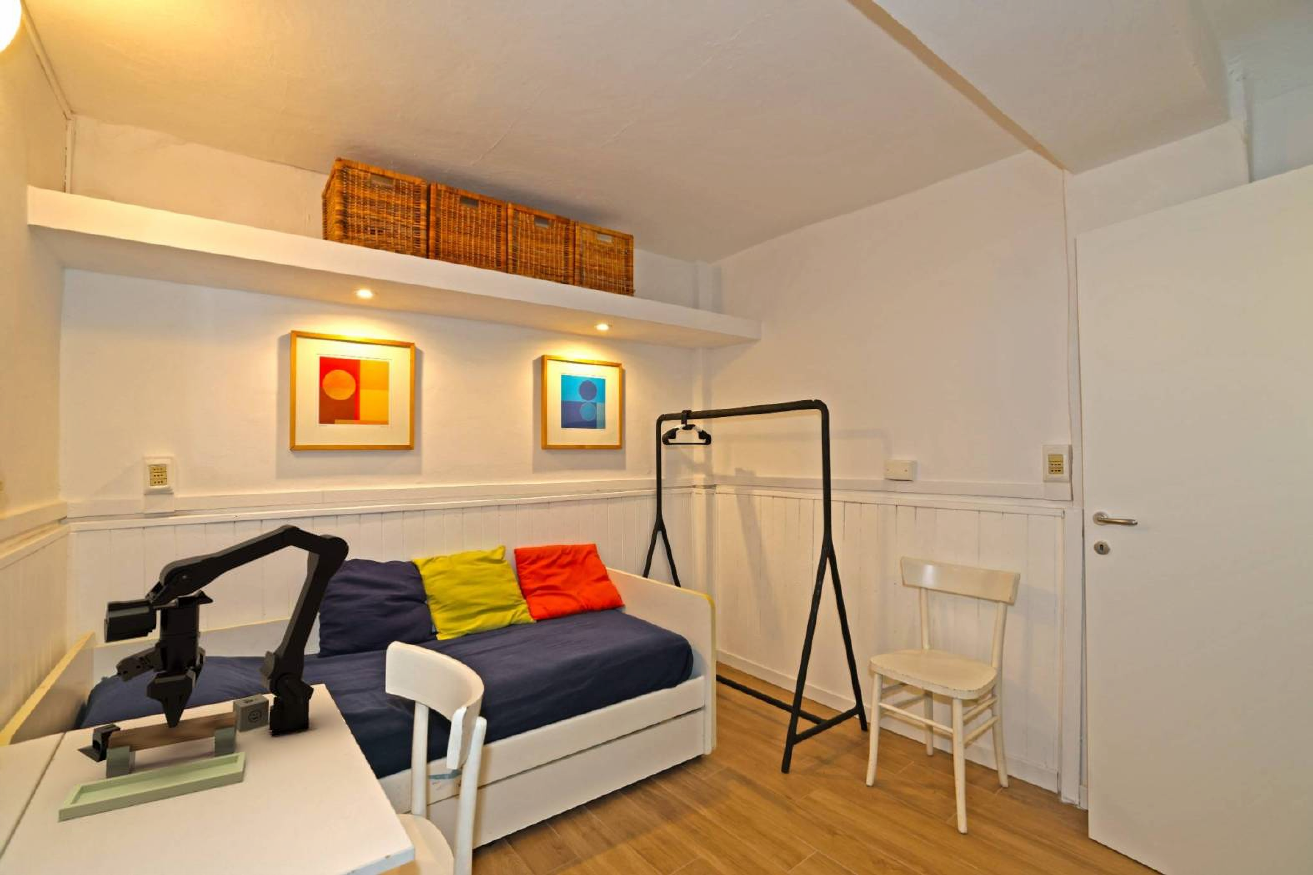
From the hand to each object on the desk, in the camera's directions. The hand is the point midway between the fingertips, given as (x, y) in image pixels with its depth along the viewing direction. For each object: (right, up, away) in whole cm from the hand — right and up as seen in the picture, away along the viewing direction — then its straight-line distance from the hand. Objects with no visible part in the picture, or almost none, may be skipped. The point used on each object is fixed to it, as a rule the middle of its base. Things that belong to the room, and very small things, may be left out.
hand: (177, 717), depth 111 cm
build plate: (-16, -8, +3) cm, 18 cm away
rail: (0, -4, 0) cm, 4 cm away
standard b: (-7, -7, -4) cm, 11 cm away
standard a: (+6, -8, +3) cm, 11 cm away
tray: (+5, -7, -10) cm, 13 cm away
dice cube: (+4, -8, +15) cm, 17 cm away
